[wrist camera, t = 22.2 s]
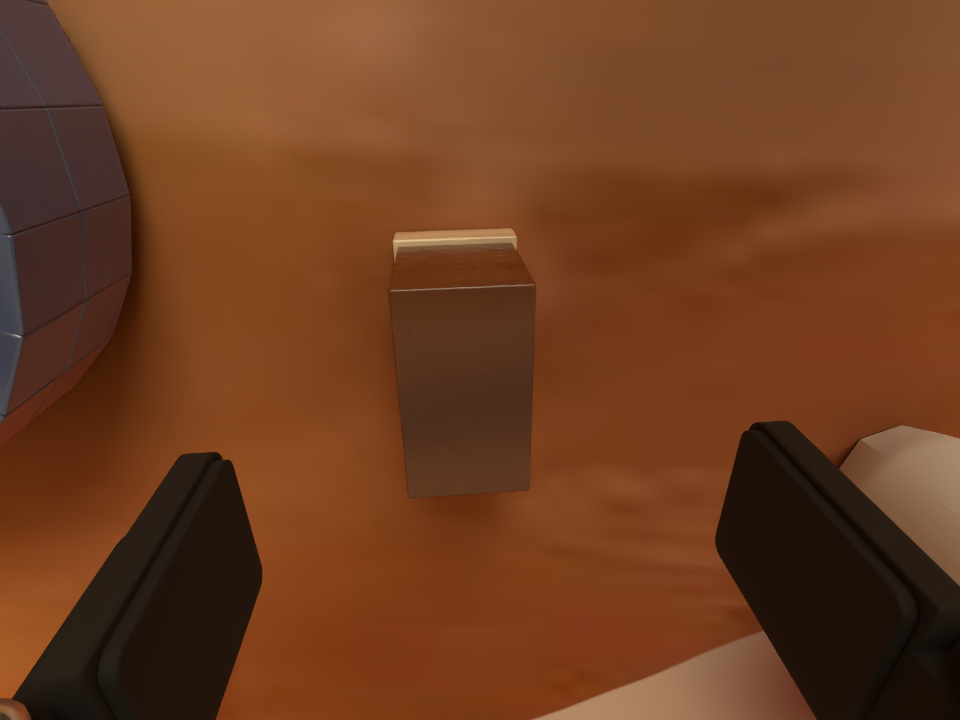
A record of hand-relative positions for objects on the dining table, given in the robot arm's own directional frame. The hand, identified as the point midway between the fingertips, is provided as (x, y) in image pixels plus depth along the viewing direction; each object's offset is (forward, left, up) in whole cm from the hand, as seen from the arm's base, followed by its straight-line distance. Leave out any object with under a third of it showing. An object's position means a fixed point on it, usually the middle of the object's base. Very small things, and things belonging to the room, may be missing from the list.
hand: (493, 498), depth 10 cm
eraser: (+1, 0, -11) cm, 11 cm away
